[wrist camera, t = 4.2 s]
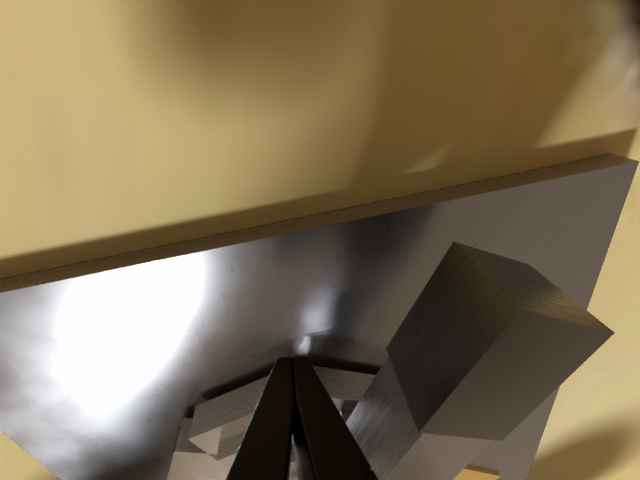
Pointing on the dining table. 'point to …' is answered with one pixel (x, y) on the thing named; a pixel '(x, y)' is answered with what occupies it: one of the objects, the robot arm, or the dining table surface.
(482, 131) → the dining table surface
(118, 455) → the cap plate
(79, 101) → the dining table surface
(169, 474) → the grey ring frame
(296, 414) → the robot arm
